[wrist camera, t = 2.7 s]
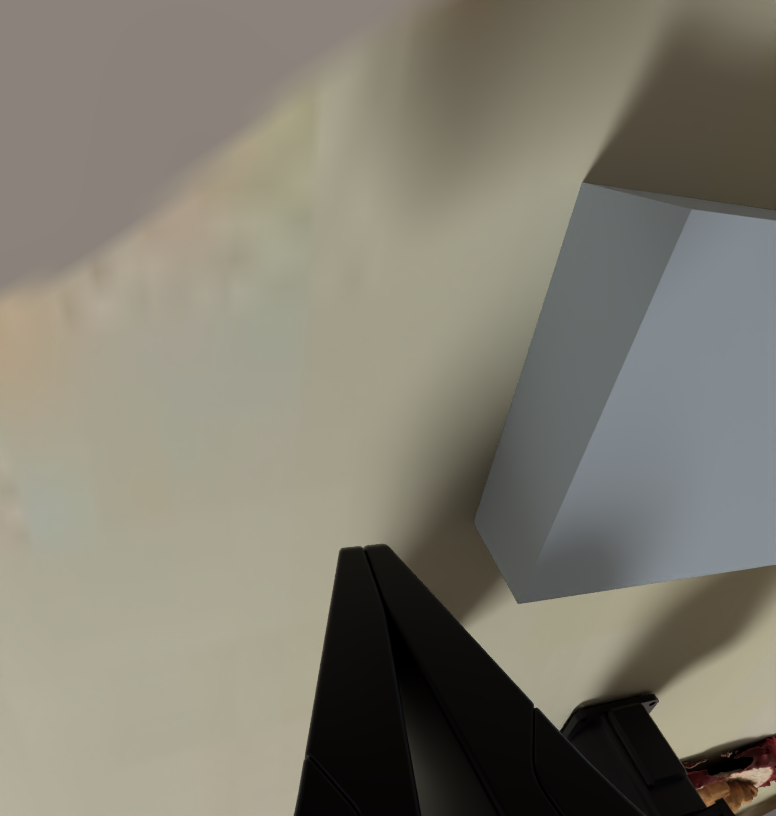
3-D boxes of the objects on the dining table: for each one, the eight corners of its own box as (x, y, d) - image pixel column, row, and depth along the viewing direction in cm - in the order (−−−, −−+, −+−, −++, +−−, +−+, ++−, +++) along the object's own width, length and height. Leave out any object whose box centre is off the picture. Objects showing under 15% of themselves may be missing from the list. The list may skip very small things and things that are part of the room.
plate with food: (604, 769, 43) (628, 817, 40) (811, 721, 49) (844, 759, 47) (524, 860, 55) (538, 902, 52) (699, 812, 62) (719, 846, 59)
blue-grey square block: (704, 494, 22) (784, 563, 19) (469, 515, 19) (518, 604, 15) (876, 224, 16) (1041, 256, 13) (573, 180, 12) (691, 209, 9)
